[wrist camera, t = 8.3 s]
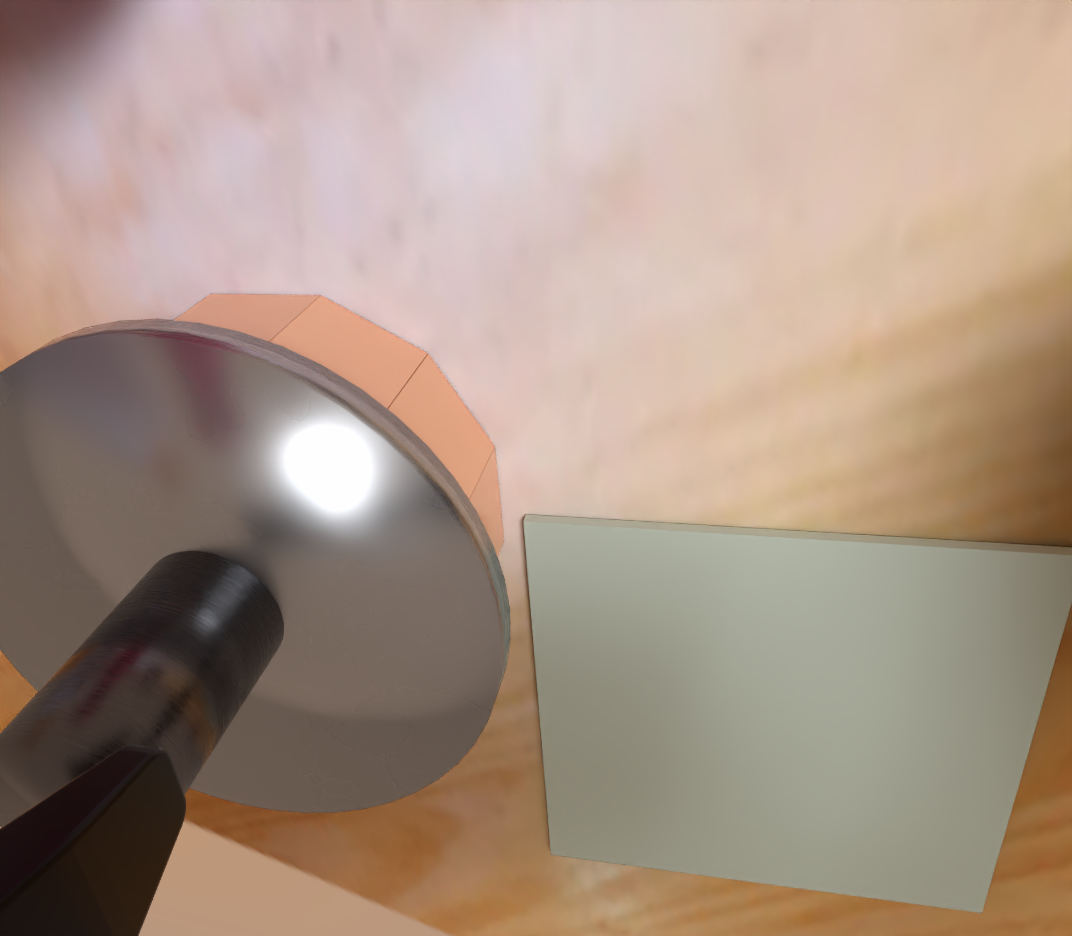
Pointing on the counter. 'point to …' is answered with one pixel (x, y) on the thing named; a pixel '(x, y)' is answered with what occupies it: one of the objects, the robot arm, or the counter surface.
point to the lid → (234, 575)
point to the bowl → (374, 379)
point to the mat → (790, 700)
